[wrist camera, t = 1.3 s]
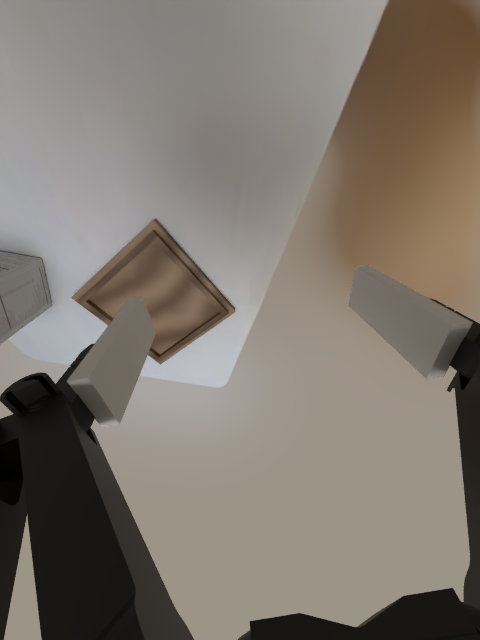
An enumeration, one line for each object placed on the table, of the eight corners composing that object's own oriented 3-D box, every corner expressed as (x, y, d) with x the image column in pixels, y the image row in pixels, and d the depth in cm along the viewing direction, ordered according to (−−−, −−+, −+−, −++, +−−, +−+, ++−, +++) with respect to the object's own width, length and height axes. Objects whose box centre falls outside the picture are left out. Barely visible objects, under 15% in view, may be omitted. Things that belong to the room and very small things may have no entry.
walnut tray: (74, 294, 41) (67, 300, 39) (155, 219, 35) (152, 221, 34) (161, 360, 50) (159, 367, 48) (235, 308, 45) (235, 314, 43)
